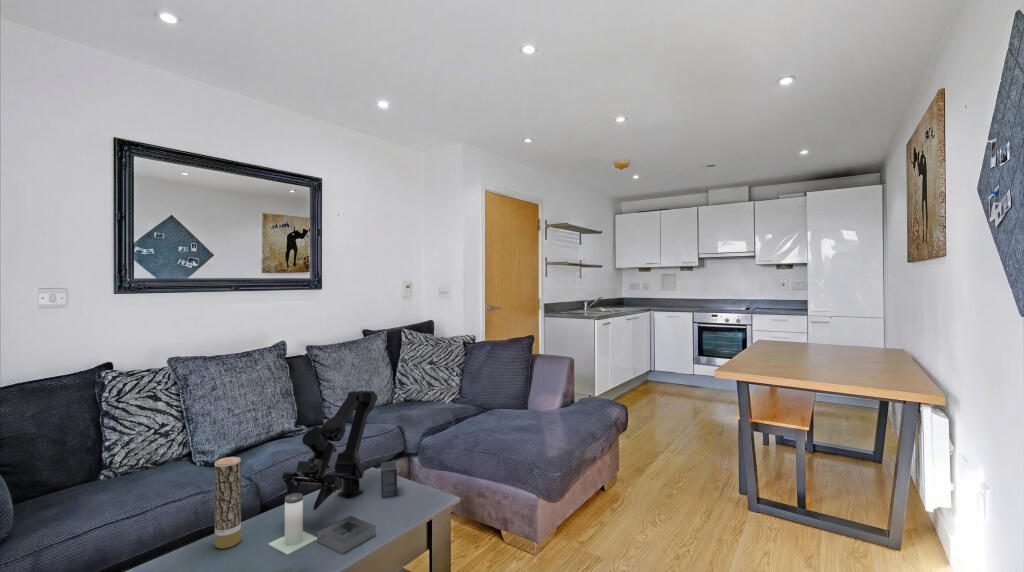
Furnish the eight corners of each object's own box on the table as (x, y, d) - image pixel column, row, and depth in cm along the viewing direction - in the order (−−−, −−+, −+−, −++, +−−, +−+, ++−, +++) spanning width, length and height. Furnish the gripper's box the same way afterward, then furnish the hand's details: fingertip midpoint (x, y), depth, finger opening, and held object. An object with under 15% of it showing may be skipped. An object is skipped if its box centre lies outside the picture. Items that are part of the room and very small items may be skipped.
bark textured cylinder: (228, 551, 138) (228, 465, 138) (209, 548, 139) (208, 464, 139) (246, 538, 144) (246, 457, 144) (227, 536, 146) (227, 455, 146)
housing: (317, 541, 142) (317, 532, 142) (350, 524, 152) (350, 515, 152) (343, 554, 136) (343, 543, 136) (375, 535, 146) (375, 525, 146)
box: (380, 490, 178) (380, 462, 178) (396, 488, 180) (395, 460, 180) (381, 499, 171) (381, 469, 171) (397, 496, 173) (397, 468, 173)
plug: (283, 539, 143) (284, 495, 143) (301, 534, 146) (301, 491, 146) (285, 546, 139) (285, 501, 139) (303, 542, 141) (303, 497, 141)
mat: (268, 545, 141) (268, 543, 141) (298, 530, 149) (298, 529, 149) (287, 555, 135) (287, 553, 135) (318, 539, 144) (318, 538, 144)
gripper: (284, 447, 152) (260, 496, 142) (337, 450, 149) (317, 501, 139) (299, 461, 160) (278, 509, 150) (350, 465, 157) (332, 514, 146)
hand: (300, 508), depth 146 cm, fingers open, 9 cm apart
